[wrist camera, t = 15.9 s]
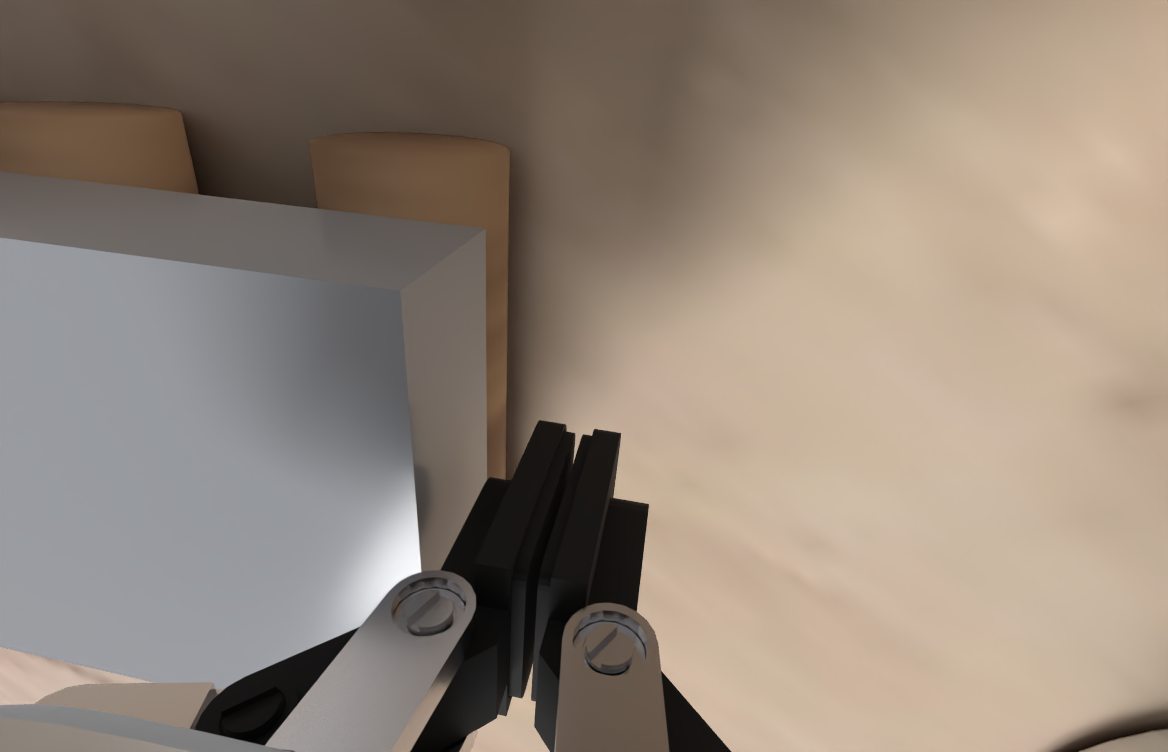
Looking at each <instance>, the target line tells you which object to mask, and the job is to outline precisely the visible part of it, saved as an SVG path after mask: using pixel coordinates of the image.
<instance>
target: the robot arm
mask: <svg viewBox="0 0 1168 752" xmlns="http://www.w3.org/2000/svg"><path fill="white" fill-rule="evenodd" d="M620 439H621V433H616V432H610V431H604V430H598V429H594V431H593V435H592V436H590V435H584V434H583V435H582V438H581V441H580V444H579V448H578V451H577V454H576V457H575V460H574V463H573V458H574V447H575V433H571V432H566V424H560V423H554V422H547V421H541V420H540V421H538V423H537V425H536V427H535V430H534V432H533V434H532V436H531V438H530V441H529V443H528V445H527V447H526V450H525V452H524V454H523V456H522V458H521V461H520V463H519V465H518V467H517V469H516V472H515V474H514V476H513V478H512V481H511V480H505V479H499V478H493V477H490V478H488V479H487V481H486V482H485V484H484V486H483V488H482V490H481V492H480V494H479V496H478V498H477V499H476V501H475V503H474V505H473V507H472V509H471V511H470V513H469V515H468V517H467V519H466V521H465V523H464V525H463V527H462V529H461V531H460V533H459V535H458V537H457V538H456V540H455V542H454V544H453V546H452V548H451V550H450V552H449V554H448V556H447V558H446V560H445V562H444V564H443V566H442V568H441V570H432V571H423V572H420V573H416V574H413V575H410V576H409V577H407V578H405V579H403V580H401V581H400V582H398V583H397V584H396V585H395V586H394V587H393V588H392V589H391V590H390V591H389V592H388V593H387V594H386V595H385V597H384V598H383V599H382V600H381V602H380V603H379V604H378V605H377V607H376V608H375V609H374V610H373V612H372V613H371V614H370V615H369V617H368V618H367V619H366V620H365V622H364V623H363V624H362V625H361V626H360V627H358V628H356V629H353V630H351V631H349V632H347V633H344V634H342V635H340V636H337V637H335V638H333V639H330V640H328V641H326V642H324V643H321V644H319V645H317V646H314V647H312V648H310V649H308V650H305V651H303V652H301V653H298V654H296V655H294V656H291V657H289V658H287V659H285V660H282V661H280V662H278V663H275V664H273V665H271V666H268V667H266V668H264V669H262V670H259V671H257V672H255V673H252V674H250V675H248V676H245V677H244V678H242V679H240V680H238V681H236V682H235V683H233V684H231V685H229V686H228V687H226V688H225V689H216V688H215V685H214V682H185V683H128V684H84V685H79V686H73V687H67V688H64V689H62V690H60V691H57V692H55V693H52V694H50V695H48V696H45V697H44V698H42V699H41V700H39V701H38V702H36V703H35V704H24V705H0V752H470V751H471V749H472V747H473V745H474V742H475V739H476V736H477V729H479V728H481V727H482V726H484V725H486V724H487V723H489V722H491V721H493V720H494V719H496V718H497V715H498V714H499V715H503V716H506V715H507V712H508V709H509V705H510V702H511V698H512V696H513V697H518V698H523V695H524V693H525V689H526V686H527V682H528V679H529V675H530V671H531V668H532V664H533V677H532V694H531V700H532V701H536V708H535V724H534V727H535V728H536V730H537V732H538V733H539V735H540V736H541V738H542V740H543V741H544V743H545V744H546V746H547V748H548V749H549V751H550V752H731V751H730V750H729V749H728V747H727V746H726V745H725V744H724V743H723V742H722V740H721V739H720V738H719V737H718V736H717V735H716V734H715V732H714V731H713V730H712V729H711V728H710V727H709V725H708V724H707V723H706V722H705V721H704V720H703V719H702V717H701V716H700V715H699V714H698V713H697V712H696V710H695V709H694V708H693V707H692V706H691V705H690V704H689V702H688V701H687V700H686V699H685V698H684V697H683V696H682V694H681V693H680V692H679V691H678V690H677V689H676V687H675V686H674V685H673V684H672V683H671V682H670V681H669V679H668V678H667V677H666V676H665V675H664V674H663V672H662V671H661V666H660V656H659V646H658V642H657V638H656V635H655V632H654V630H653V629H652V627H651V626H650V624H649V623H648V621H647V620H646V619H645V618H644V617H642V616H641V615H640V614H639V613H638V612H637V604H638V595H639V586H640V578H641V569H642V560H643V552H644V543H645V534H646V526H647V517H648V508H649V504H645V503H639V502H633V501H627V500H621V499H615V498H613V495H614V487H615V479H616V471H617V463H618V455H619V447H620ZM1078 752H1168V729H1161V730H1153V731H1148V732H1144V733H1139V734H1135V735H1131V736H1126V737H1122V738H1118V739H1113V740H1109V741H1106V742H1103V743H1101V744H1098V745H1095V746H1092V747H1089V748H1087V749H1084V750H1081V751H1078Z"/></svg>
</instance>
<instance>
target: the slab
mask: <svg viewBox="0 0 1168 752" xmlns="http://www.w3.org/2000/svg"><path fill="white" fill-rule="evenodd" d="M486 481H487V387H486V228H478V227H470V226H461V225H453V224H444V223H436V222H427V221H419V220H410V219H402V218H393V217H385V216H376V215H368V214H359V213H351V212H342V211H334V210H325V209H317V208H309V207H300V206H292V205H283V204H275V203H266V202H258V201H249V200H241V199H232V198H224V197H215V196H207V195H198V194H190V193H181V192H173V191H164V190H156V189H147V188H139V187H130V186H122V185H113V184H105V183H96V182H88V181H79V180H71V179H62V178H54V177H45V176H37V175H28V174H20V173H12V172H3V171H0V647H3V648H7V649H11V650H16V651H20V652H24V653H29V654H33V655H37V656H42V657H46V658H50V659H55V660H59V661H64V662H68V663H72V664H77V665H81V666H85V667H90V668H94V669H98V670H103V671H107V672H111V673H116V674H120V675H124V676H129V677H133V678H137V679H142V680H146V681H150V682H155V683H185V682H214V685H215V688H216V689H225V688H226V687H228V686H229V685H231V684H233V683H235V682H236V681H238V680H240V679H242V678H244V677H245V676H248V675H250V674H252V673H255V672H257V671H259V670H262V669H264V668H266V667H268V666H271V665H273V664H275V663H278V662H280V661H282V660H285V659H287V658H289V657H291V656H294V655H296V654H298V653H301V652H303V651H305V650H308V649H310V648H312V647H314V646H317V645H319V644H321V643H324V642H326V641H328V640H330V639H333V638H335V637H337V636H340V635H342V634H344V633H347V632H349V631H351V630H353V629H356V628H358V627H360V626H361V625H362V624H363V623H364V622H365V620H366V619H367V618H368V617H369V615H370V614H371V613H372V612H373V610H374V609H375V608H376V607H377V605H378V604H379V603H380V602H381V600H382V599H383V598H384V597H385V595H386V594H387V593H388V592H389V591H390V590H391V589H392V588H393V587H394V586H395V585H396V584H397V583H398V582H400V581H401V580H403V579H405V578H407V577H409V576H410V575H413V574H416V573H420V572H423V571H432V570H441V568H442V566H443V564H444V562H445V560H446V558H447V556H448V554H449V552H450V550H451V548H452V546H453V544H454V542H455V540H456V538H457V537H458V535H459V533H460V531H461V529H462V527H463V525H464V523H465V521H466V519H467V517H468V515H469V513H470V511H471V509H472V507H473V505H474V503H475V501H476V499H477V498H478V496H479V494H480V492H481V490H482V488H483V486H484V484H485V482H486Z"/></svg>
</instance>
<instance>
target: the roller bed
mask: <svg viewBox="0 0 1168 752" xmlns="http://www.w3.org/2000/svg"><path fill="white" fill-rule="evenodd" d="M309 147H310V155H311V162H312V170H313V177H314V185H315V192H316V200H317V207H318V209H325V210H334V211H342V212H351V213H359V214H368V215H376V216H385V217H393V218H402V219H410V220H419V221H427V222H436V223H444V224H453V225H461V226H470V227H478V228H486V387H487V479H488V478H490V477H493V478H499V479H505V476H506V395H507V314H508V233H509V152H510V151H509V149H508V148H507V147H505V146H503V145H500V144H497V143H493V142H489V141H484V140H479V139H473V138H466V137H458V136H449V135H437V134H423V133H399V132H364V133H345V134H334V135H327V136H321V137H317V138H314V139H312V140H310V141H309ZM0 171H3V172H12V173H20V174H28V175H37V176H45V177H54V178H62V179H71V180H79V181H88V182H96V183H105V184H113V185H122V186H130V187H139V188H147V189H156V190H164V191H173V192H181V193H190V194H198V195H199V191H198V186H197V182H196V177H195V173H194V168H193V164H192V159H191V155H190V150H189V146H188V141H187V137H186V132H185V128H184V123H183V119H182V114H181V112H180V111H177V110H174V109H169V108H163V107H155V106H145V105H133V104H117V103H94V102H10V103H0Z"/></svg>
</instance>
